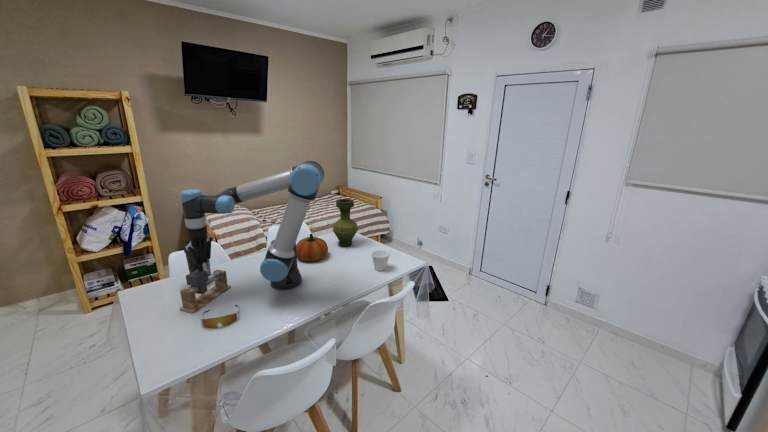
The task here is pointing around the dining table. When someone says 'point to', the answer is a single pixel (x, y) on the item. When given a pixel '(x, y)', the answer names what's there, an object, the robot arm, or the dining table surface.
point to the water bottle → (192, 266)
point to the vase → (345, 223)
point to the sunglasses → (219, 319)
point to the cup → (380, 259)
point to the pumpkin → (311, 248)
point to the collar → (198, 280)
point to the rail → (195, 304)
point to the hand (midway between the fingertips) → (204, 276)
